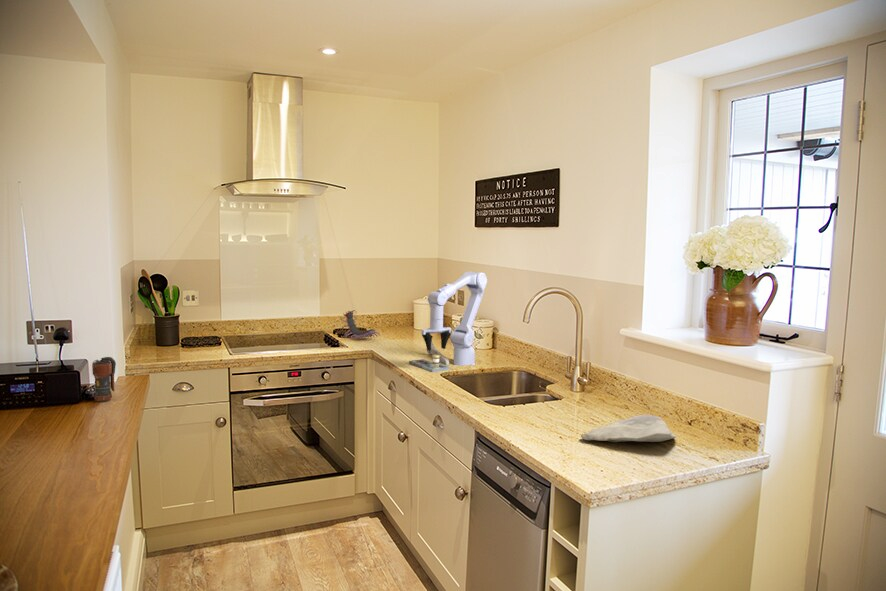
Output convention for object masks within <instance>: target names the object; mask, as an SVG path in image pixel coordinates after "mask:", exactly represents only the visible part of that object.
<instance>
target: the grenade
mask: <svg viewBox="0 0 886 591" xmlns="http://www.w3.org/2000/svg"><path fill="white" fill-rule="evenodd" d="M116 366H117V363H116V360H115V359H114V358H113V357H112V356H104V357H101V358H100V360H99V359H96V360H94V361H93V362H92V367H91V368H92V376H93V377H94V390H95V391H94V397H93V398H94V399H93V400H95V402H98V403H103V402H109V401H111V399H112V397H113V395H112V392H115V373H116Z"/></svg>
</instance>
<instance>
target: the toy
mask: <svg viewBox="0 0 886 591" xmlns="http://www.w3.org/2000/svg"><path fill="white" fill-rule="evenodd" d="M354 312H355V313H357V311H356V310H352V311H351V310H348V311H346V312H345V313H344V312H343V316H344V317H343V318H344V319H346V320H344V319H342V316H340V320H341V321H343V322H344V323H346V324H345V325H343V326H342V327H341V329H343V328H346V327H348V328H349V330H347V331H346V332H345V333H344V339H346V338H347V337H348V336H349V335H351V334H352V335H351V336H350V339H352V340H354V339H355V340H360V339H361V340H363V338H364V339H365V338H366V337H367V338H368V339H369V337H370V338H372V337H373V339H375V336H376V337H378V336H379V337H381V334H380V333H379V332H378V331H376V330H375V329H373V328H370V329H368V330H366V331H361V330H360V329H358V328H359V327H358V326H357V324H356V323H355V321H356V320H357V317H356V316H355V315H354ZM377 334H378V335H377ZM357 338H358V339H357Z"/></svg>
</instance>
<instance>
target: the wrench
mask: <svg viewBox="0 0 886 591" xmlns="http://www.w3.org/2000/svg"><path fill="white" fill-rule="evenodd" d="M425 350H426V352H427V354H428V355H429V356H430V355H431V356H432V355H440V358H439V363H440V362H441V364H442V363H443V365H445V366H449V365H450V360H449V359H448V358H447V357H446V356H444V355H443V354H442V353H441V352H440V351H439V350H438V349H437V348H436V347H435V344H434V342H433V340H432V341H431V350H430V351H429V350H427V348H426V349H425Z"/></svg>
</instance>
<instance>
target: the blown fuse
mask: <svg viewBox="0 0 886 591" xmlns="http://www.w3.org/2000/svg"><path fill="white" fill-rule="evenodd" d="M431 358H432V361H431V362H432V367H431V368H432V369H437V368H440V367H439V364H440V361H439V358H440V355H433V354H432V355H431Z"/></svg>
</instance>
